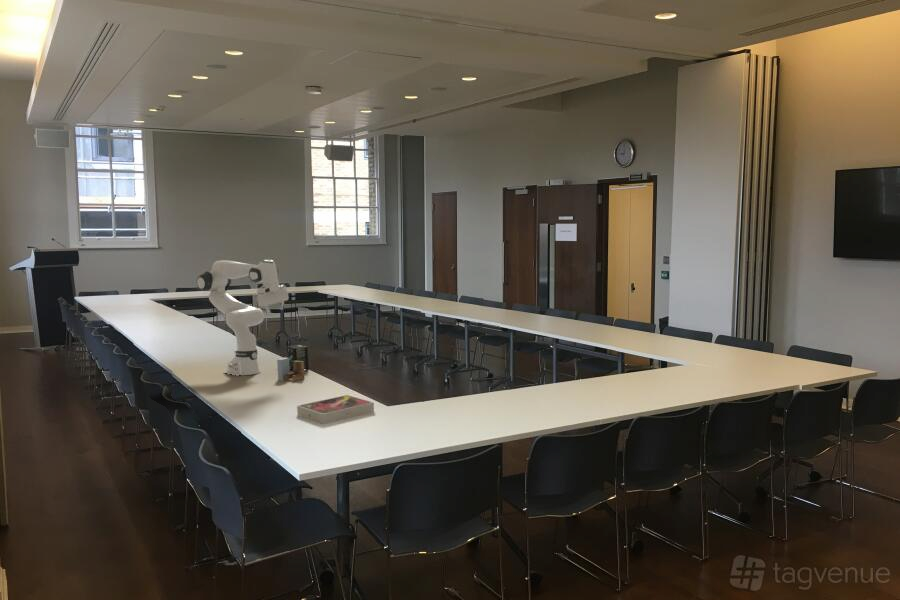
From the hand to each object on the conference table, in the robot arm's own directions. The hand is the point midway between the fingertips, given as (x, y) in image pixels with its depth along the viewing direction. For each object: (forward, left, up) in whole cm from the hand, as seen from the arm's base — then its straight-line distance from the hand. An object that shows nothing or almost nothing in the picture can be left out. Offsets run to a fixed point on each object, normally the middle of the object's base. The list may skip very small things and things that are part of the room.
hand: (275, 311), depth 415 cm
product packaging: (+82, -51, -40) cm, 104 cm away
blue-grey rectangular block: (+8, -4, -39) cm, 40 cm away
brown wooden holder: (+14, -2, -39) cm, 41 cm away
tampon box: (-2, +20, -39) cm, 44 cm away
